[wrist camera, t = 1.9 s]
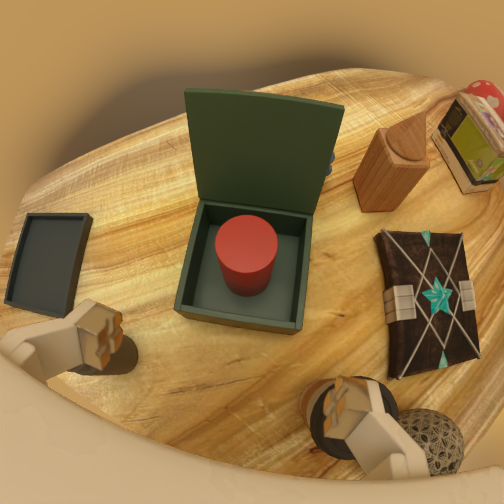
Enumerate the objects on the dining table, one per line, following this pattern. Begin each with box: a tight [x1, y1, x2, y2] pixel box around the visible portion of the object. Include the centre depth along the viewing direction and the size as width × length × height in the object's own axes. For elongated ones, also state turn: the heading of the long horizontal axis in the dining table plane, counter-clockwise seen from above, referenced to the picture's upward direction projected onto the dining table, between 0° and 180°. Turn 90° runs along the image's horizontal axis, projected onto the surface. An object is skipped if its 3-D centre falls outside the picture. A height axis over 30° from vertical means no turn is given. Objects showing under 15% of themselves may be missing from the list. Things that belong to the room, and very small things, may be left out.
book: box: [373, 228, 482, 380], centre depth 37 cm, size 22×17×5 cm
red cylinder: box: [215, 215, 278, 297], centre depth 35 cm, size 6×6×11 cm
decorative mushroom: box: [466, 80, 504, 122], centre depth 48 cm, size 13×13×15 cm
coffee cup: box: [299, 376, 398, 460], centre depth 28 cm, size 8×8×15 cm
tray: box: [4, 213, 93, 319], centre depth 40 cm, size 17×15×2 cm
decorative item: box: [353, 111, 430, 212], centre depth 37 cm, size 7×7×20 cm
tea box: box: [431, 92, 504, 194], centre depth 43 cm, size 15×10×15 cm, turn 12°
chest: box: [174, 198, 313, 335], centre depth 38 cm, size 15×15×7 cm
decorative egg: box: [397, 409, 464, 477], centre depth 25 cm, size 12×12×15 cm
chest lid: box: [184, 88, 345, 214], centre depth 31 cm, size 15×15×5 cm
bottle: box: [67, 335, 138, 376], centre depth 30 cm, size 6×6×15 cm
